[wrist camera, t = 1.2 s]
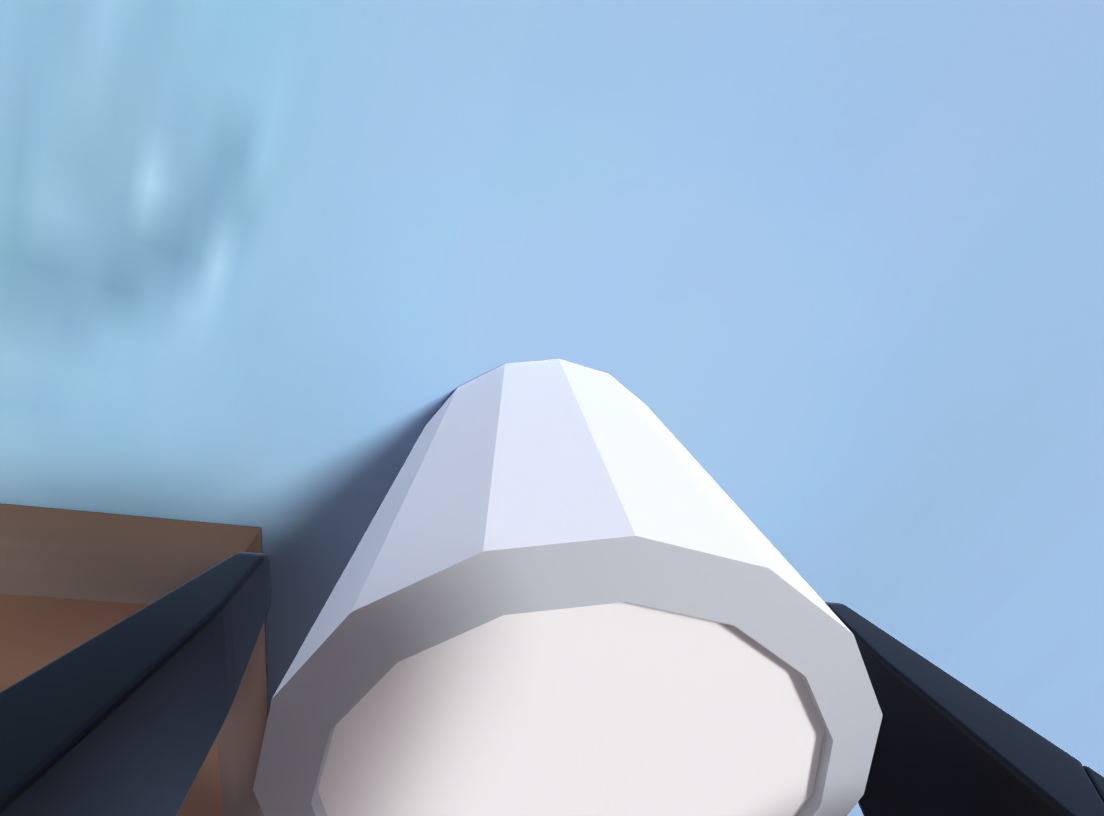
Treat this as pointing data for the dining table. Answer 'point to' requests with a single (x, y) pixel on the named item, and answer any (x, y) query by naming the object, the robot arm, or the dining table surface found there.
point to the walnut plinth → (125, 614)
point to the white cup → (566, 634)
